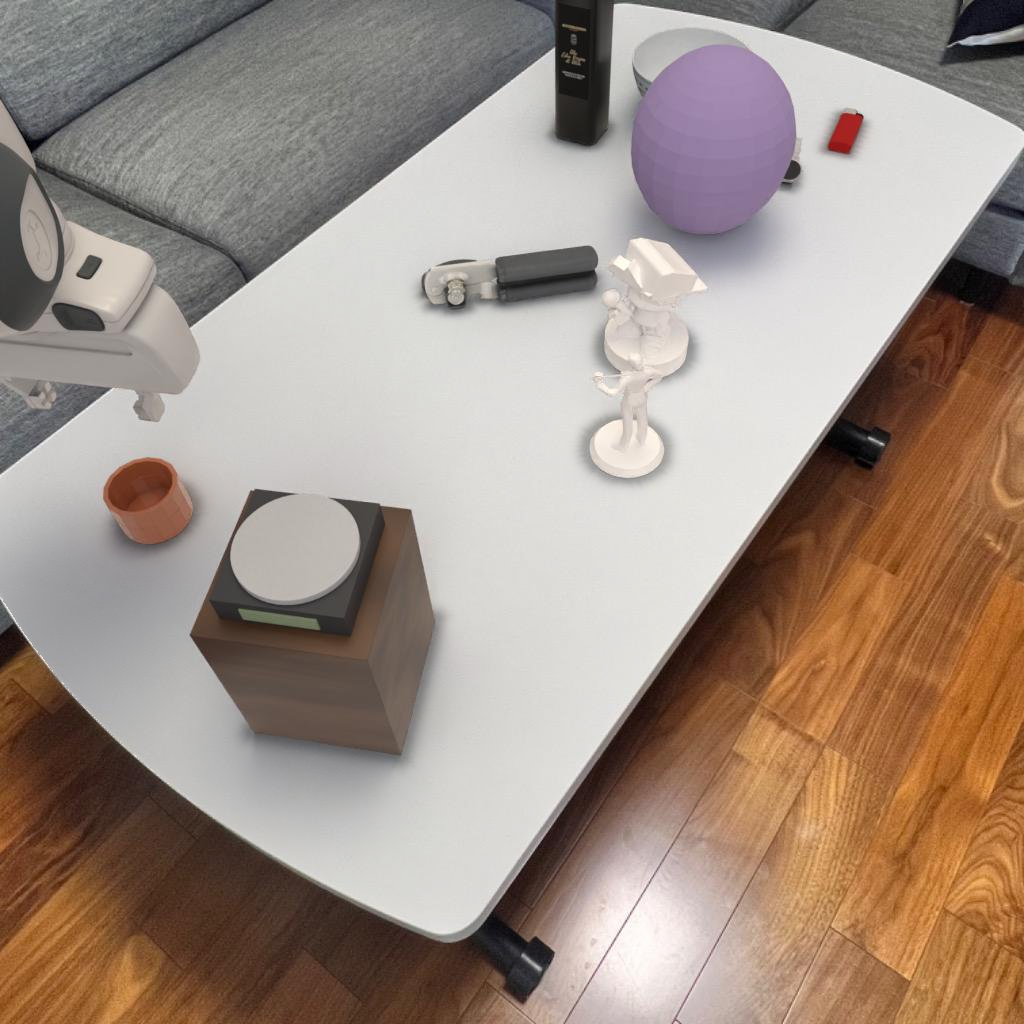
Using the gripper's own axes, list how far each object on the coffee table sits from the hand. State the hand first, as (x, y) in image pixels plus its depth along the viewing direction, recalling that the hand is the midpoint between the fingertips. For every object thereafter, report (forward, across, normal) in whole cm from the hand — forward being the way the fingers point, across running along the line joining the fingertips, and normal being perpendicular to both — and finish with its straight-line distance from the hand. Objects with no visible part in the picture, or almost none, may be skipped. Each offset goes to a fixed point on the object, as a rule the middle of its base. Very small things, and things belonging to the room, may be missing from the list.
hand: (98, 409), depth 75 cm
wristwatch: (+15, +57, +59) cm, 83 cm away
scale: (-2, +22, -13) cm, 26 cm away
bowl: (+14, 0, 0) cm, 14 cm away
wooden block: (+14, +22, -13) cm, 29 cm away
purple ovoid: (+15, +47, +49) cm, 69 cm away
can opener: (+15, +27, +35) cm, 46 cm away
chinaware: (+15, +44, +71) cm, 85 cm away
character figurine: (+15, +43, +28) cm, 53 cm away
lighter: (+15, +64, +69) cm, 95 cm away
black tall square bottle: (+15, +31, +66) cm, 74 cm away
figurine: (+15, +42, +14) cm, 46 cm away
